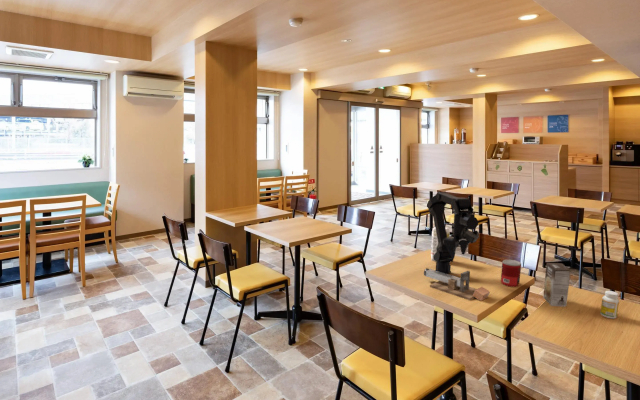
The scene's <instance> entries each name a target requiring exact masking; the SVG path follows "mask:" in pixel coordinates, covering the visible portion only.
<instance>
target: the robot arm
mask: <svg viewBox="0 0 640 400" xmlns="http://www.w3.org/2000/svg"><path fill="white" fill-rule="evenodd" d="M447 205H450V206H451V209H453V211H452V214H454V215H453V225H452V226H451V229H453V231H452V234H451V235H450V237H447V233H446V228H447V227H446V225H445V224H446V223H445V220H444V213H445V210H446V206H447ZM426 206H427V209H428V212H429V213H430V215H431V216H432V217H433V222H434V227H435V228H436V233H437V238H438V246H437V248H436V251H437V252H436V253H435V254H434V255H433V259H434V260H435V261H434V262H435V269H434V270H435V271H438V272H442V273H445V274H450V273H451V274H452V271H451V266H452V265H451V262H454V259H455V255H456V252H457V248H458V247H459V248H460V251H461V255H463V256H464V255H465V254H466V251H467V248H468V247H469V244H474V243H476V242H477V241H478V239H479V238H480V233H479V231H478V230H474V229H476V228H477V227H478V225H479V220H478V218H477V217H475V214H474V208H473V206H472V203H471V201H470V199H469V197H457V196H455V195H453V194H450V193H448V192H446V191H442V192H440V191H438V192H437V193H436V194H435V195H434V196H432V197H431V198H429V199H428V201H427V203H426Z"/></svg>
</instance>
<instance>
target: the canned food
mask: <svg viewBox="0 0 640 400" xmlns="http://www.w3.org/2000/svg"><path fill="white" fill-rule="evenodd" d="M501 263H502V264H501V275H500V283H501V284H502V285H503V286H506V287H510V288H516V287H519V286H520V280H521V269H522V263H521V261H518V260H514V259H503V260H502V262H501Z"/></svg>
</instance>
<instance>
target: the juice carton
mask: <svg viewBox="0 0 640 400" xmlns="http://www.w3.org/2000/svg"><path fill="white" fill-rule="evenodd" d="M445 228H446V233H447V237H451V235H450V232H451V231H450V228H449V227H445ZM437 246H438V238H437V233H436V228H435V226H434V227H432V232H431V246H430V258H431V261H432V262H433V261H434V262H436V261H435V260H434V259H433V255H434V254H435V253H436V252H437V251H436V248H437Z"/></svg>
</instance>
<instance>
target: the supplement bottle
mask: <svg viewBox="0 0 640 400" xmlns="http://www.w3.org/2000/svg"><path fill="white" fill-rule="evenodd" d="M618 297H619V293H618V292H615V291H612V290H605V292H604V295H603V296H602V299H601V304H600V305H601V306H600V315H601V316H602V317H605V318H608V319H616V318H617V317H618V312H619V307H620V306H619V304H620V299H618Z"/></svg>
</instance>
